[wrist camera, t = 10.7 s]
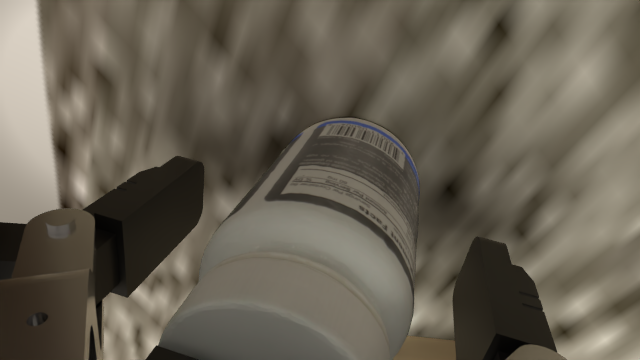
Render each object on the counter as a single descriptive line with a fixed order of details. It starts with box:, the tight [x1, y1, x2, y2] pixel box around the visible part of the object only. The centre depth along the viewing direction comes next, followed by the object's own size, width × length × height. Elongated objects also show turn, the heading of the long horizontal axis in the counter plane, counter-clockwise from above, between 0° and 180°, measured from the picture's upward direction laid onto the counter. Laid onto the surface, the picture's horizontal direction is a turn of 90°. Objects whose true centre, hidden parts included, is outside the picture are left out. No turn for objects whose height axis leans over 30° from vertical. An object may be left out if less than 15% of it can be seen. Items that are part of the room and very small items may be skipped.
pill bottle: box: [158, 118, 420, 360], centre depth 11 cm, size 5×5×8 cm
